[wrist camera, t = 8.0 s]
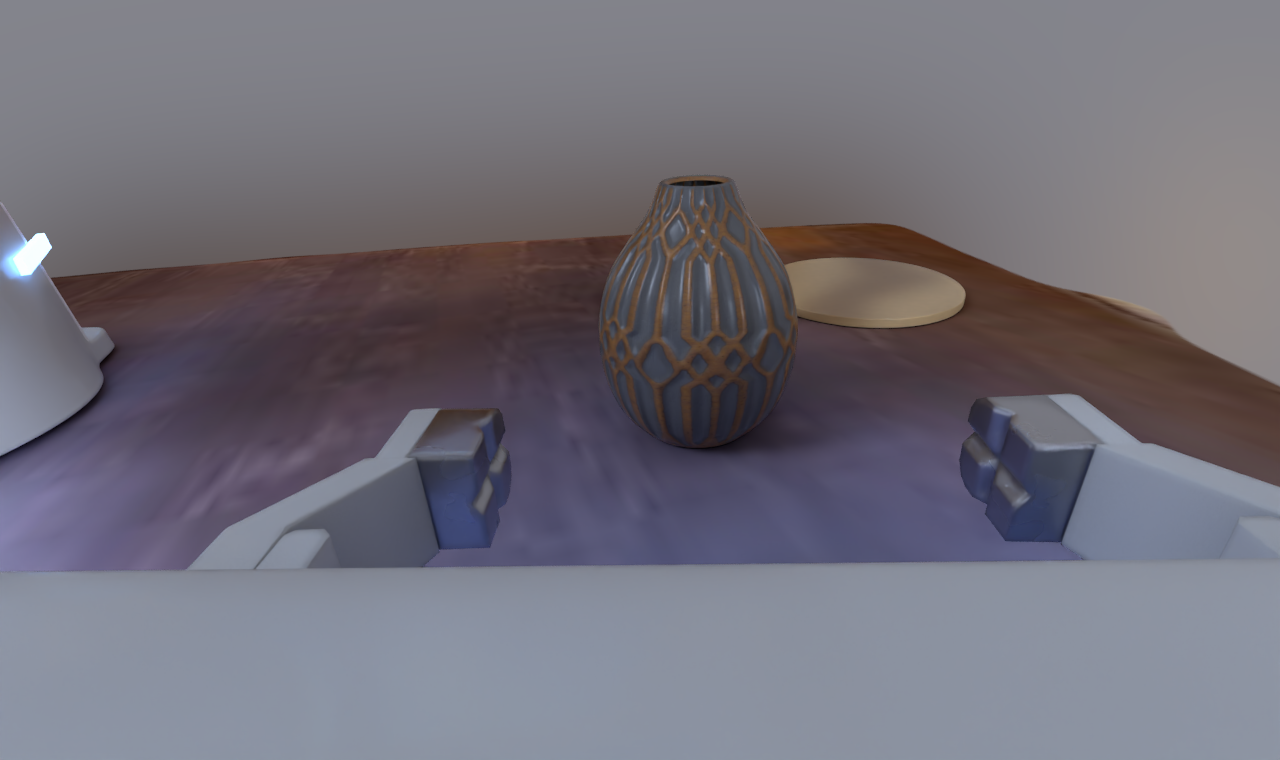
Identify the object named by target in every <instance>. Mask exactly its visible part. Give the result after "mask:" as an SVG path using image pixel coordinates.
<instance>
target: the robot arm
mask: <svg viewBox="0 0 1280 760" xmlns="http://www.w3.org/2000/svg"><path fill="white" fill-rule="evenodd" d="M51 248H52V247H51V245H50V243H49V241H48V239H47V237H46V235H45V233H41V234H36V235H35V236H34V237H33V238H32V239H31V240H30V241H29V242H27V241H26V239H25V237H24V236H23V234H22V233H21V231H20V230H19V228H18V227H17V225H16V223H15V222H14V220H13V219H12V217H11V216H10V214H9V213H8V211H7V209H6V208H5V207H4V205H3V204H2V202H1V201H0V456H1V455H3V454H5V453H7V452H9V451H11V450H14V449H16V448H17V447H19V446H21V445H23V444H25V443H27V442H29V441H31V440H33V439H35V438H36V437H38V436H40V435H42V434H44V433H45V432H47V431H49V430H50V429H52V428H54V427H55V426H57V425H58V424H60V423H62V422H63V421H65V420H66V419H68V418H69V417H71V416H72V415H73V414H75V413H76V412H77V411H79V410H80V409H81V408H83V407H84V406H85V405H86V404H87V403H88V402H89V401H90V400H91V399H92V398H93V397H94V396H95V395H96V394H97V393H98V391H99V390H100V388H101V386H102V384H103V379H104V377H103V374H102V372H101V370H100V366H99V365H100V362H101V361H102V360H103V359H104V358H105V357H106V356H107V355H108V354H109V353H110V352H111V351H112V350H113V348H114V346H115V345H114V344H113V342H112V340H111V339H110V337H109V336H108V334H107V333H106V331H105V330H104V329H102V328H98V327H89V328H81V327H80V325H79V323H78V322H77V320H76V319H75V317H74V315H73V314H72V312H71V311H70V309H69V307H68V306H67V304H66V303H65V301H64V299H63V298H62V296H61V295H60V293H59V291H58V290H57V288H56V287H55V285H54V283H53V282H52V280H51V279H50V277H49V275H48V274H47V272H46V271H45V269H44V267H43V266H42V264H41V263H40V262H41V261H42V259H43V258H44V257H45V255H46V254H47V253H48V251H49V250H50V249H51ZM968 422H969V423H970V425H971V427H972V428H973V430H974V433H973V434H972V435H971V436H970V437H969V438H967V439H966V440H965V441H964V442H963V444H962V449H961V454H960V459H959V462H960V472H961V477H962V480H963V482H964V485H965V487H966V489H967V490H968V491H969V493H970V494H971V496H972V497H974V498H976V499H978V500H980V501H982V502H983V503H985V504H987V508H986V511H985V515H986V516H987V517H988V519H989V520H990V521H991V523H992V524H993V525H994V527H995V528H996V529H997V531H998V532H999V533H1000V535H1001V536H1002V537H1003V539H1004V540H1005V541H1011V542H1062V543H1061V545H1063V546H1064V547H1066V548H1067V549H1069V550H1070V551H1072V552H1073V553H1075V554H1077V555H1078V556H1080V557H1081V558H1083V559H1084V560H1053V561H961V562H869V563H775V564H681V565H587V566H493V567H423V566H424V565H425V564H427V563H428V562H429V561H430V560H431V559H432V558H433V557H435V556H436V555H437V554H438V553H439V550H441V549H466V548H490V546H491V544H492V541H493V538H494V535H495V533H496V530H497V527H498V525H499V522H500V518H499V513H498V509H499V508H501V507H502V506H503V505H505V504H506V502H507V499H508V496H509V493H510V485H511V461H510V455H509V451H508V450H507V449H506V448H505V447H504V446H503V445H502V444H501V443H500V442H501V440H502V438H503V435H504V433H505V426H504V421H503V416H502V413H501V412H500V410H499V409H498V408H473V409H441V408H432V409H415V410H411V411H410V412H409V413H408V415H407V416H406V417H405V419H404V420H403V421H402V423H401V424H400V425H399V427H398V428H397V429H396V431H395V432H394V433H393V435H392V436H391V437H390V439H389V440H388V441H387V443H386V444H385V445H384V447H383V448H382V449H381V451H380V452H379V453H378V455H377V456H376V457H375V458H366V459H364V460H362V461H360V462H358V463H356V464H354V465H352V466H350V467H348V468H346V469H344V470H342V471H340V472H338V473H336V474H334V475H332V476H330V477H328V478H326V479H324V480H322V481H320V482H318V483H316V484H314V485H312V486H310V487H308V488H306V489H304V490H302V491H300V492H298V493H296V494H294V495H292V496H290V497H288V498H286V499H284V500H282V501H280V502H278V503H276V504H274V505H272V506H270V507H268V508H266V509H264V510H262V511H260V512H258V513H256V514H254V515H251V516H249V517H247V518H245V519H243V520H241V521H239V522H237V523H235V524H233V525H231V526H229V527H227V528H226V529H225V530H224V531H223V532H222V533H221V534H220V535H219V536H218V537H217V538H216V539H215V540H214V541H213V542H212V543H211V544H210V545H209V546H208V548H207V549H206V550H205V551H204V552H203V553H202V554H201V555H200V556H199V557H198V558H197V559H196V560H195V561H194V562H193V563H192V564H191V565H190V566H189V567H188V568H187V569H186V570H111V571H15V572H0V760H1280V487H1277V486H1275V485H1272V484H1269V483H1266V482H1263V481H1260V480H1257V479H1254V478H1251V477H1248V476H1245V475H1243V474H1240V473H1237V472H1234V471H1231V470H1228V469H1225V468H1222V467H1219V466H1216V465H1214V464H1211V463H1208V462H1205V461H1202V460H1199V459H1196V458H1193V457H1190V456H1187V455H1184V454H1182V453H1179V452H1176V451H1173V450H1170V449H1167V448H1164V447H1161V446H1158V445H1155V444H1152V443H1148V444H1142V443H1141V442H1139V441H1138V440H1137V439H1135V438H1134V437H1133V436H1131V435H1130V434H1129V433H1127V432H1126V431H1125V430H1124V429H1122V428H1121V427H1120V426H1118V425H1117V424H1116V423H1114V422H1113V421H1112V420H1110V419H1109V418H1108V417H1107V416H1105V415H1104V414H1103V413H1101V412H1100V411H1099V410H1097V409H1096V408H1095V407H1093V406H1092V405H1091V404H1089V403H1088V402H1087V401H1086V400H1084V399H1083V398H1082V397H1080V396H1078V395H1074V394H1056V395H1031V396H1009V397H988V398H980V399H976V401H975V402H974V404H973V406H972V407H971V411H970V414H969V418H968Z"/></svg>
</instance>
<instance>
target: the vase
mask: <svg viewBox="0 0 1280 760" xmlns="http://www.w3.org/2000/svg"><path fill="white" fill-rule="evenodd" d="M598 329H599V344H600V353H601V359H602V364H603V369H604V372H605V375H606V378H607V381H608V384H609V386H610V388H611V390H612V393H613V395H614V397H615V399H616V400H617V402H618V404H619V405H620V407H621V408H622V410H623V411H624V412H625V413H626V414H627V415H628V416H629V418H630V419H631V420H632V421H633V422H634V423H635V424H637V425H638V426H639V427H641V428H642V429H643V430H645V431H646V432H647V433H649V434H650V435H652V436H654V437H655V438H657V439H659V440H661V441H663V442H666V443H668V444H672V445H676V446H681V447H688V448H707V447H715V446H719V445H723V444H727V443H729V442H732V441H734V440H736V439H738V438H740V437H741V436H743V435H745V434H746V433H748V432H749V431H750V430H752V429H753V428H755V427H756V426H757V425H759V424H760V423H761V422H762V421H763V420H764V419H765V418H766V417H767V416H768V415H769V414H770V413H771V412H772V410H773V409H774V407H775V406H776V404H777V403H778V401H779V399H780V398H781V396H782V394H783V392H784V389H785V387H786V385H787V383H788V380H789V377H790V374H791V371H792V368H793V363H794V358H795V352H796V344H797V331H798V321H797V309H796V303H795V298H794V294H793V289H792V286H791V282H790V279H789V276H788V273H787V271H786V269H785V266H784V265H783V263H782V261H781V259H780V257H779V256H778V254H777V253H776V251H775V250H774V248H773V247H772V245H771V244H770V243H769V241H768V240H767V238H766V237H765V236H764V234H763V233H762V231H761V230H760V229H759V228H758V226H757V225H756V224H755V222H754V221H753V219H752V218H751V217H750V215H749V214H748V212H747V210H746V208H745V206H744V204H743V202H742V199H741V197H740V194H739V191H738V188H737V186H736V184H735V181H734V180H733V179H731V178H728V177H724V176H716V175H689V176H679V177H673V178H668V179H665V180H663V181H661V182H660V183H659V185H658V187H657V190H656V193H655V195H654V198H653V201H652V204H651V206H650V208H649V210H648V212H647V214H646V216H645V218H644V219H643V221H642V222H641V224H640V225H639V226H638V228H637V229H636V231H635V232H634V233H633V235H632V236H631V238H630V239H629V241H628V242H627V244H626V245H625V247H624V248H623V250H622V251H621V253H620V254H619V256H618V257H617V259H616V261H615V262H614V264H613V266H612V268H611V270H610V273H609V275H608V278H607V281H606V284H605V288H604V291H603V296H602V300H601V306H600V312H599V325H598Z"/></svg>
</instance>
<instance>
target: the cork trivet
mask: <svg viewBox="0 0 1280 760" xmlns="http://www.w3.org/2000/svg"><path fill="white" fill-rule="evenodd" d="M784 266H785V269H786V271H787V273H788V276H789V279H790V282H791V286H792V289H793V294H794V298H795V303H796V309H797V316H799V317H802V318H806V319H809V320H813V321H818V322H823V323H828V324H835V325H842V326H851V327H865V328H899V327H911V326H918V325H925V324H930V323H934V322H938V321H941V320H944V319H947V318H949V317H951V316H953V315H955V314H956V313H958V312H959V311H960V310H961V308H962V307H963V305H964V301H965V297H966V295H965V290H964V289H963V287H962V286H961V285H960V284H959V283H958V282H957V281H955V280H954V279H952V278H950V277H948V276H946V275H944V274H941V273H939V272H936V271H933V270H930V269H927V268H924V267H920V266H916V265H911V264H907V263H901V262H895V261H888V260H879V259H868V258H823V259H813V260H805V261H799V262H795V263H790V264H787V265H784Z"/></svg>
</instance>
